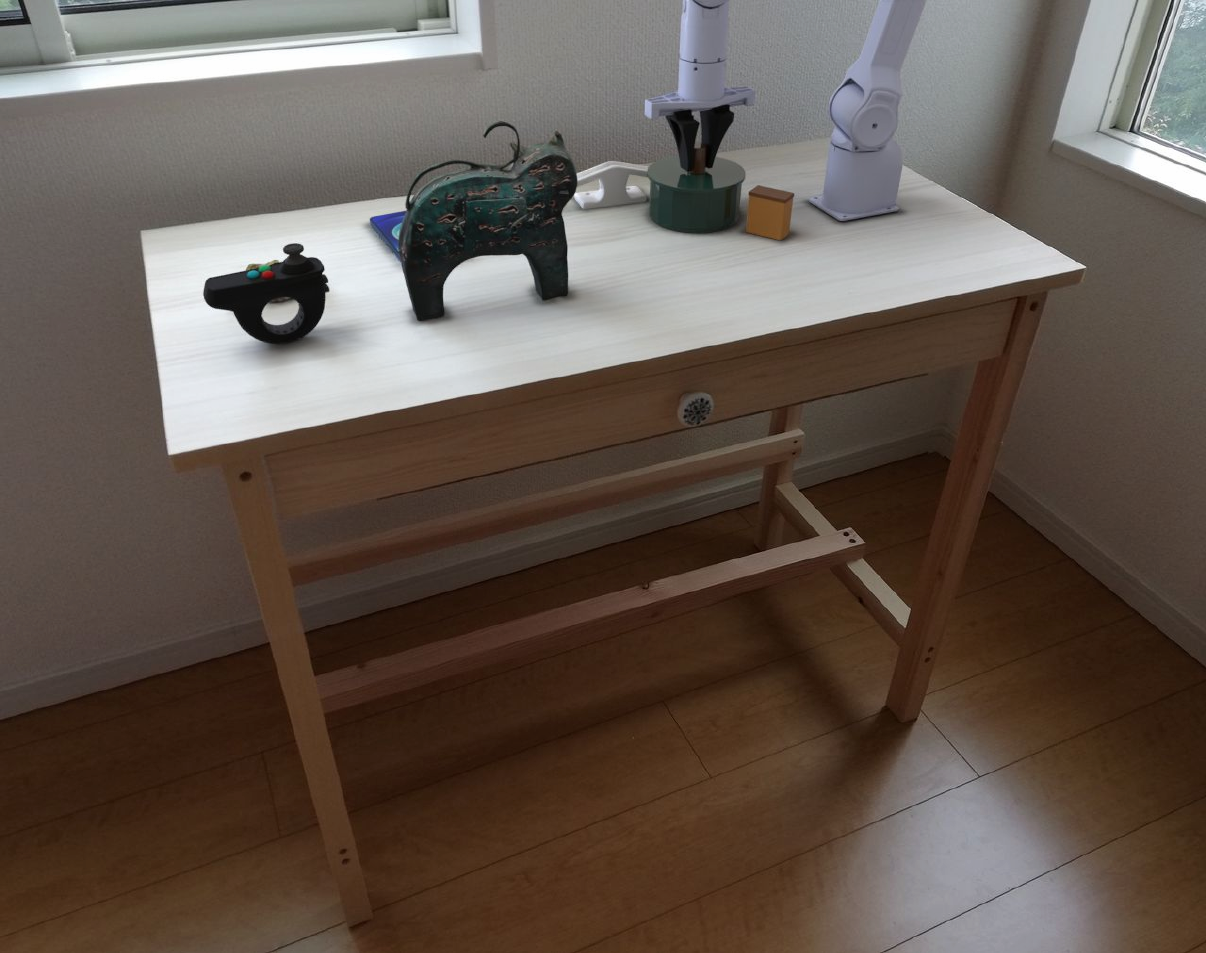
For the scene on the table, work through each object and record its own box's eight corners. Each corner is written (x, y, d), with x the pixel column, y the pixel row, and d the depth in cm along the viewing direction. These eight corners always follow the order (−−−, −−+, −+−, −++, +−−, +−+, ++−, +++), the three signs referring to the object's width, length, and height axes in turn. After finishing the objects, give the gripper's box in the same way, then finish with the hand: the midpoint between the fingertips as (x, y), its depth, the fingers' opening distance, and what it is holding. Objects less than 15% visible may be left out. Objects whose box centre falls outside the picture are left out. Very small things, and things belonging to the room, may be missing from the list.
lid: (715, 157, 138) (717, 124, 135) (763, 188, 128) (766, 154, 126) (631, 170, 134) (631, 136, 131) (674, 203, 124) (675, 168, 121)
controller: (341, 336, 107) (325, 249, 101) (222, 363, 103) (198, 273, 97) (330, 319, 110) (314, 234, 104) (215, 344, 106) (191, 256, 100)
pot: (711, 193, 140) (714, 154, 137) (754, 224, 131) (758, 183, 128) (635, 206, 136) (636, 166, 133) (674, 238, 128) (676, 197, 124)
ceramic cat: (569, 278, 118) (566, 105, 106) (588, 302, 114) (586, 124, 102) (403, 305, 113) (379, 126, 101) (415, 331, 108) (391, 146, 96)
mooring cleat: (536, 203, 137) (535, 164, 134) (672, 186, 142) (674, 148, 139) (544, 214, 134) (543, 174, 131) (683, 196, 139) (685, 157, 136)
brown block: (789, 233, 129) (794, 192, 126) (780, 241, 127) (785, 199, 124) (754, 225, 131) (757, 184, 128) (744, 232, 129) (748, 191, 126)
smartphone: (422, 207, 134) (461, 247, 123) (423, 213, 134) (462, 254, 123) (367, 217, 131) (402, 259, 120) (368, 224, 131) (403, 266, 121)
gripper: (738, 43, 127) (730, 150, 135) (635, 55, 122) (633, 165, 131) (767, 57, 122) (757, 166, 130) (660, 70, 117) (656, 183, 125)
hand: (696, 167), depth 130 cm, fingers closed on lid, 2 cm apart
